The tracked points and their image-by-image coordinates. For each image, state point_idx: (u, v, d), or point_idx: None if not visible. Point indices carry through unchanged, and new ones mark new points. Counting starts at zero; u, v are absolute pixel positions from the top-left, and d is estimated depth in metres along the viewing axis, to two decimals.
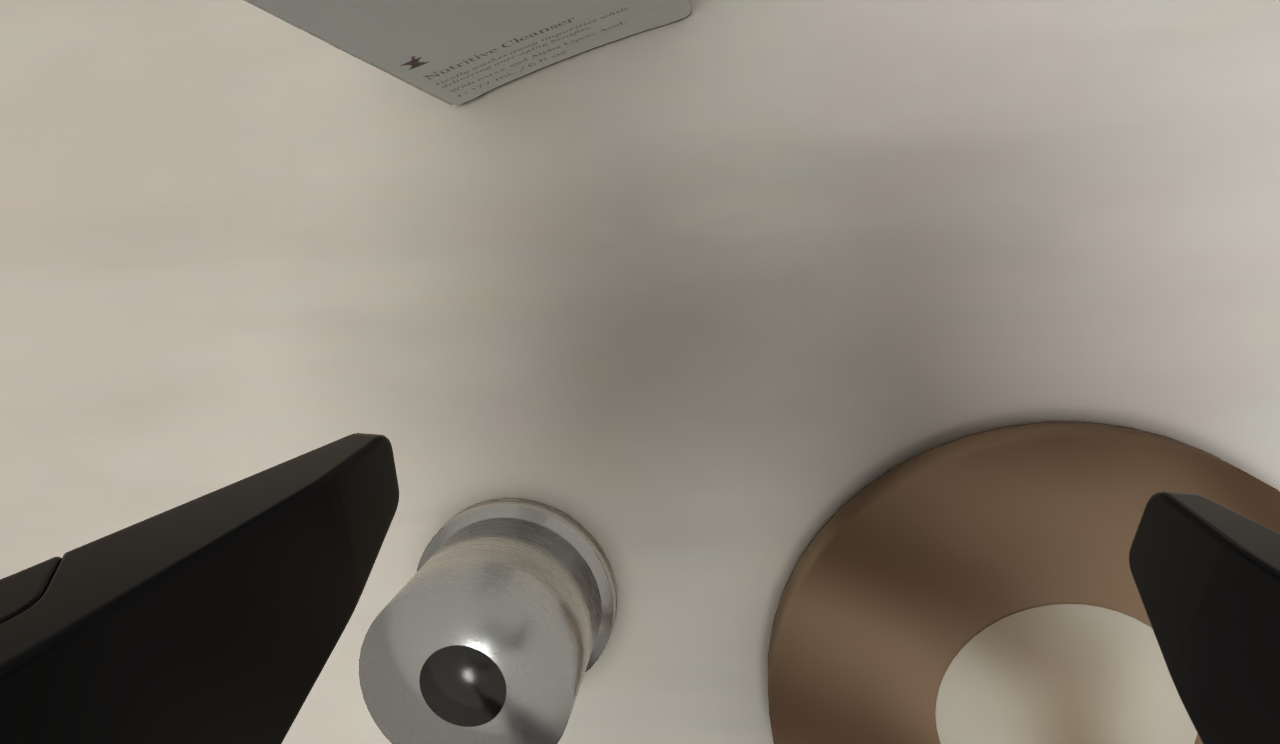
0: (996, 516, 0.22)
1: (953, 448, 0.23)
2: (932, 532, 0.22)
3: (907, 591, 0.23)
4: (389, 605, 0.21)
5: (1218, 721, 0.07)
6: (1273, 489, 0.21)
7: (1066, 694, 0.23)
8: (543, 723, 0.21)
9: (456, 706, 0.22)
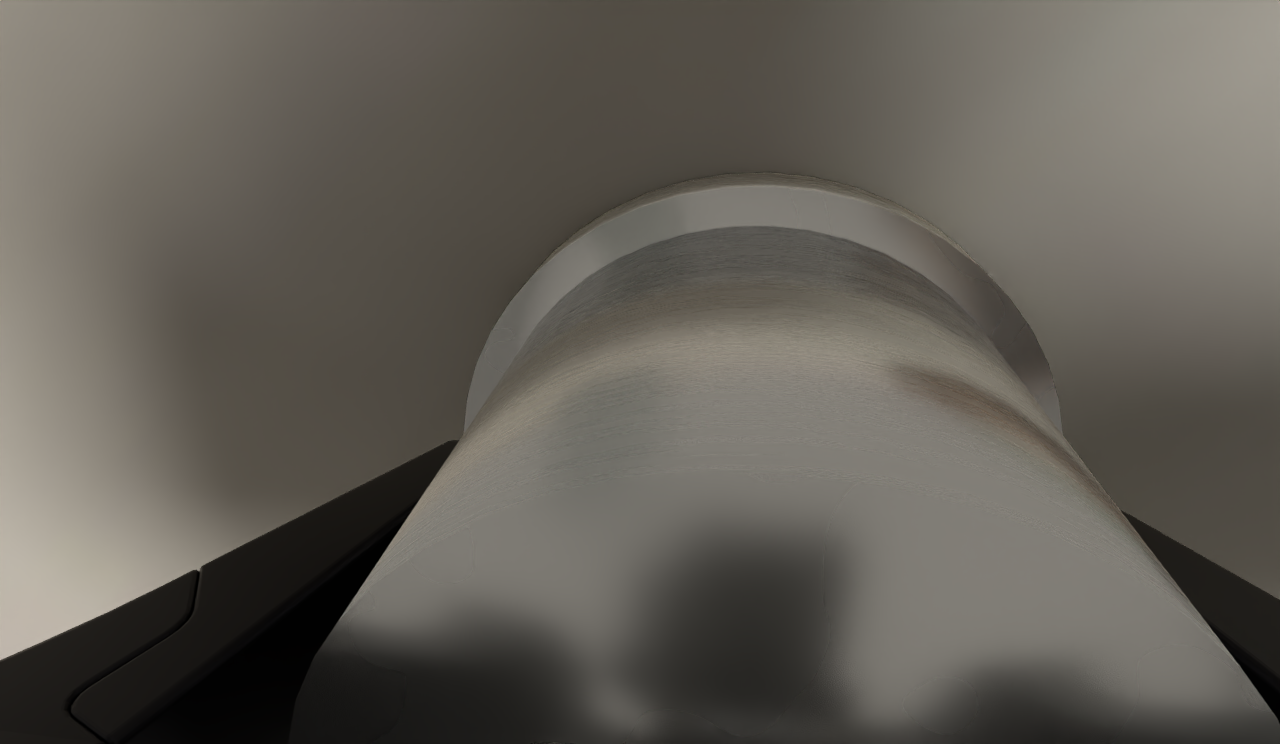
0: None
1: None
2: None
3: None
4: None
5: None
6: None
7: None
8: None
9: None
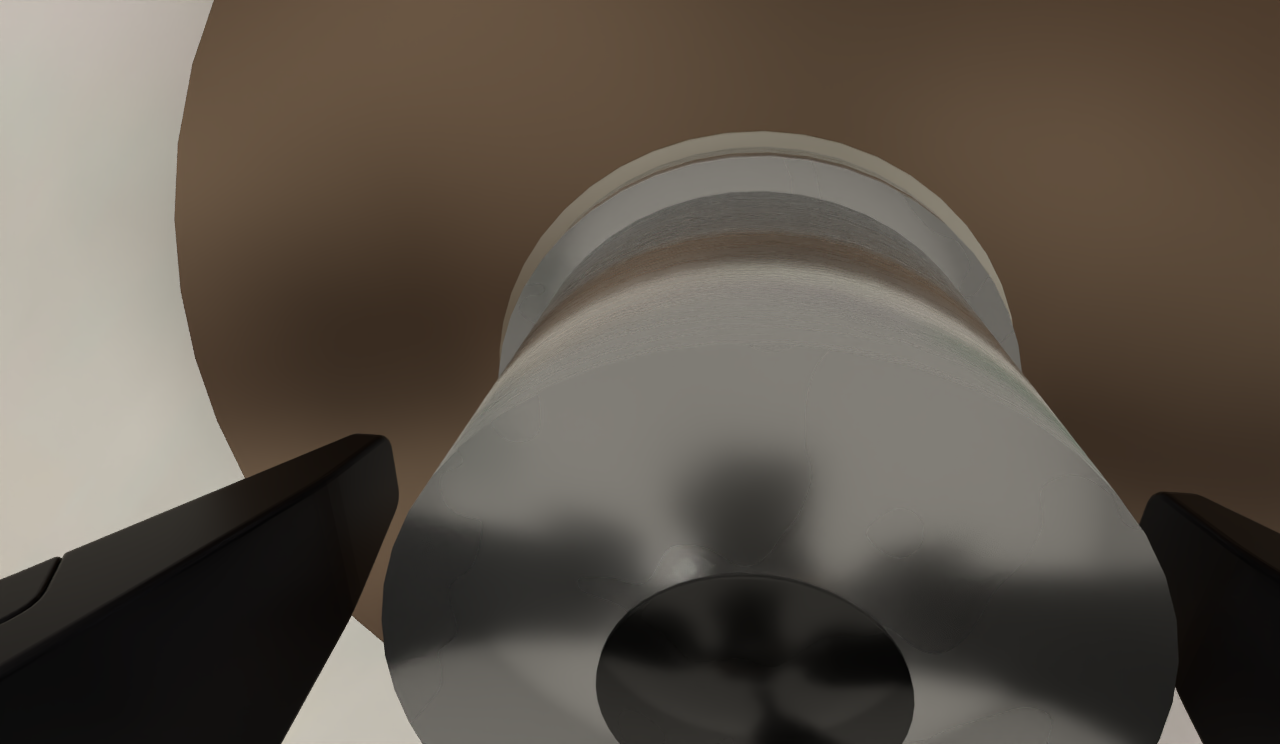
0: (326, 157, 0.10)
1: None
2: (285, 264, 0.11)
3: (356, 379, 0.12)
4: (384, 611, 0.06)
5: (1218, 721, 0.07)
6: None
7: None
8: (1085, 664, 0.06)
9: None
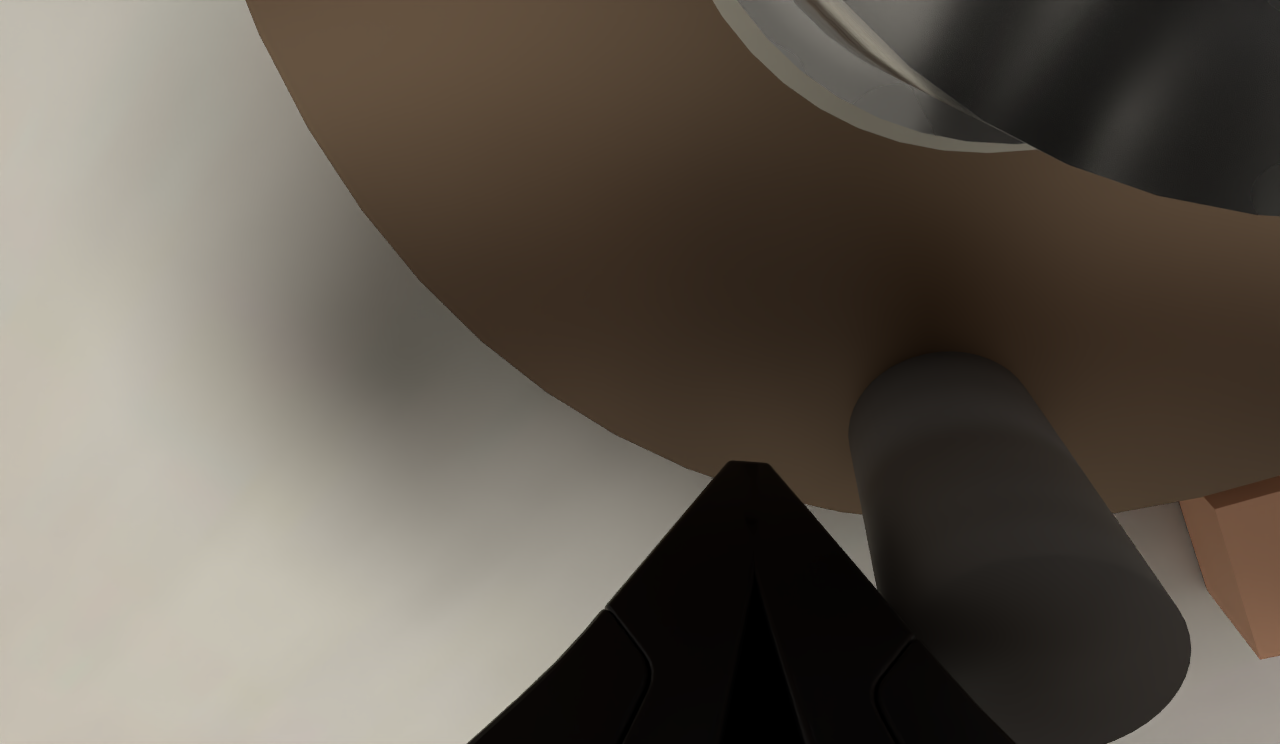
0: None
1: None
2: None
3: None
4: None
5: None
6: None
7: None
8: None
9: None
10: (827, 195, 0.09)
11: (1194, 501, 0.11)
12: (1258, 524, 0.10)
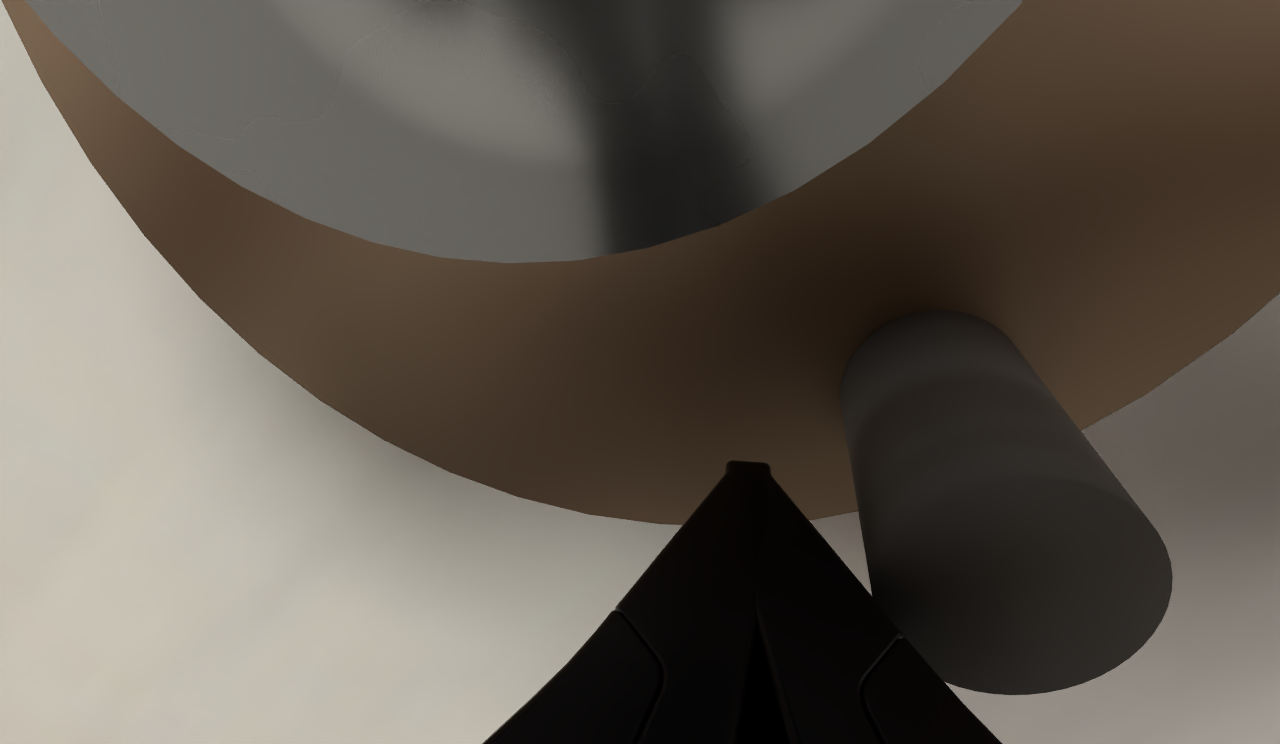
0: None
1: None
2: None
3: None
4: None
5: None
6: None
7: None
8: None
9: None
10: (705, 252, 0.10)
11: None
12: None
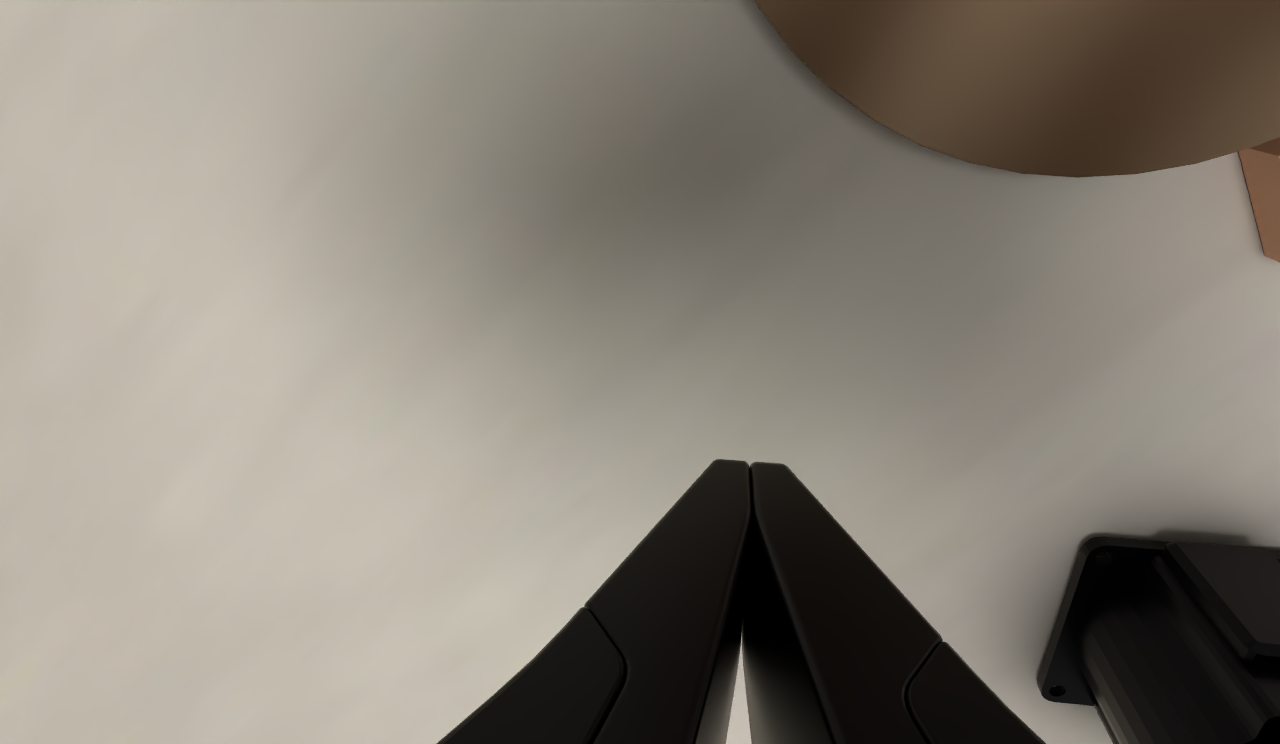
0: None
1: None
2: None
3: None
4: None
5: (750, 673, 0.07)
6: None
7: None
8: None
9: None
10: None
11: (1261, 167, 0.17)
12: None
